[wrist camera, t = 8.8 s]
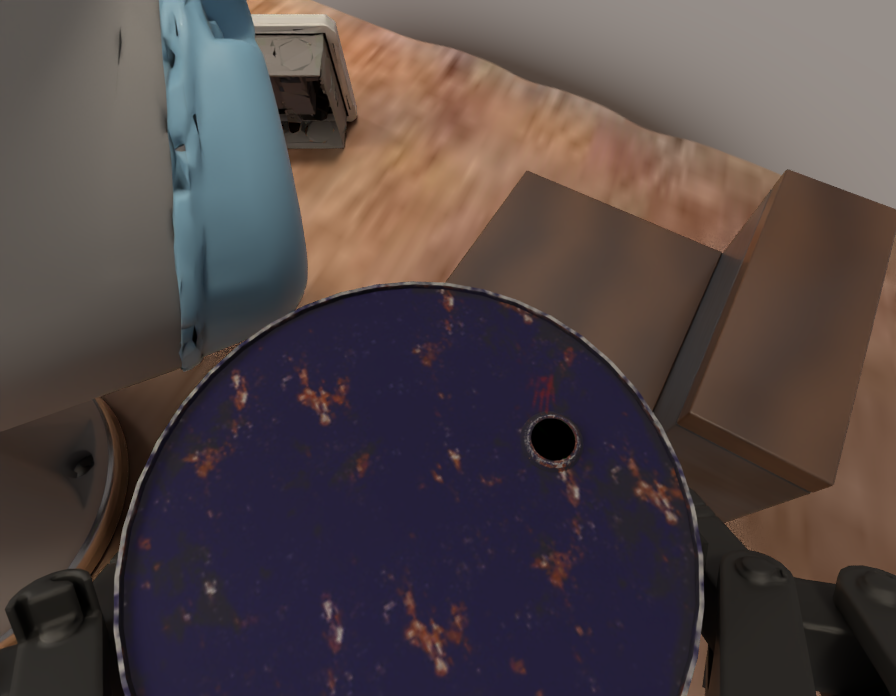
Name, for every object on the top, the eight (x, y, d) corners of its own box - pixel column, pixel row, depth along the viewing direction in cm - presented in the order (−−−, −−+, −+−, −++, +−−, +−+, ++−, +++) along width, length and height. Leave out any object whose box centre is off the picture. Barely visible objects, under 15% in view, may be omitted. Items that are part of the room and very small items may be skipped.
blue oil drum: (373, 777, 19) (210, 1163, 6) (278, 529, 23) (49, 411, 9) (594, 626, 21) (851, 647, 8) (473, 425, 25) (508, 212, 12)
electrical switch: (359, 114, 40) (336, -5, 32) (355, 166, 39) (330, 54, 30) (240, 115, 40) (184, -5, 32) (230, 167, 38) (168, 55, 30)
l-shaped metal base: (409, 370, 30) (393, 264, 21) (518, 214, 36) (543, 77, 27) (699, 532, 26) (834, 486, 17) (771, 326, 32) (902, 210, 23)
